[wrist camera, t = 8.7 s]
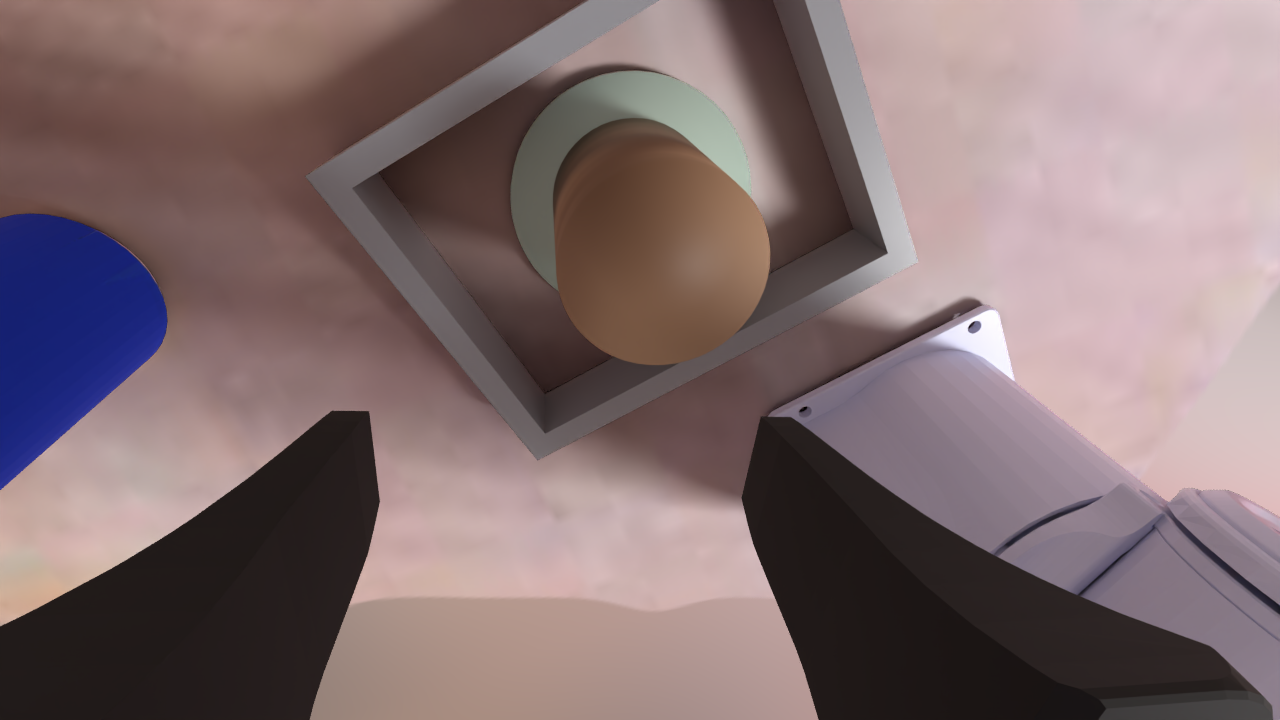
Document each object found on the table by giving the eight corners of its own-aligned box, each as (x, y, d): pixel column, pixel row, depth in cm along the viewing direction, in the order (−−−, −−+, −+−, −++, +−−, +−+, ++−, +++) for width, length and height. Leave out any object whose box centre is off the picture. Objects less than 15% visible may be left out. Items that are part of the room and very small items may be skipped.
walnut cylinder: (605, 303, 21) (625, 398, 16) (520, 174, 19) (511, 237, 14) (736, 227, 20) (801, 300, 15) (665, 84, 18) (714, 113, 13)
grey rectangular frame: (537, 419, 24) (537, 460, 21) (333, 156, 18) (304, 176, 16) (881, 236, 22) (918, 262, 20) (766, -113, 16) (799, -132, 14)
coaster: (588, 345, 22) (589, 350, 22) (460, 153, 19) (459, 156, 18) (781, 241, 21) (785, 245, 21) (686, 17, 18) (689, 17, 17)
